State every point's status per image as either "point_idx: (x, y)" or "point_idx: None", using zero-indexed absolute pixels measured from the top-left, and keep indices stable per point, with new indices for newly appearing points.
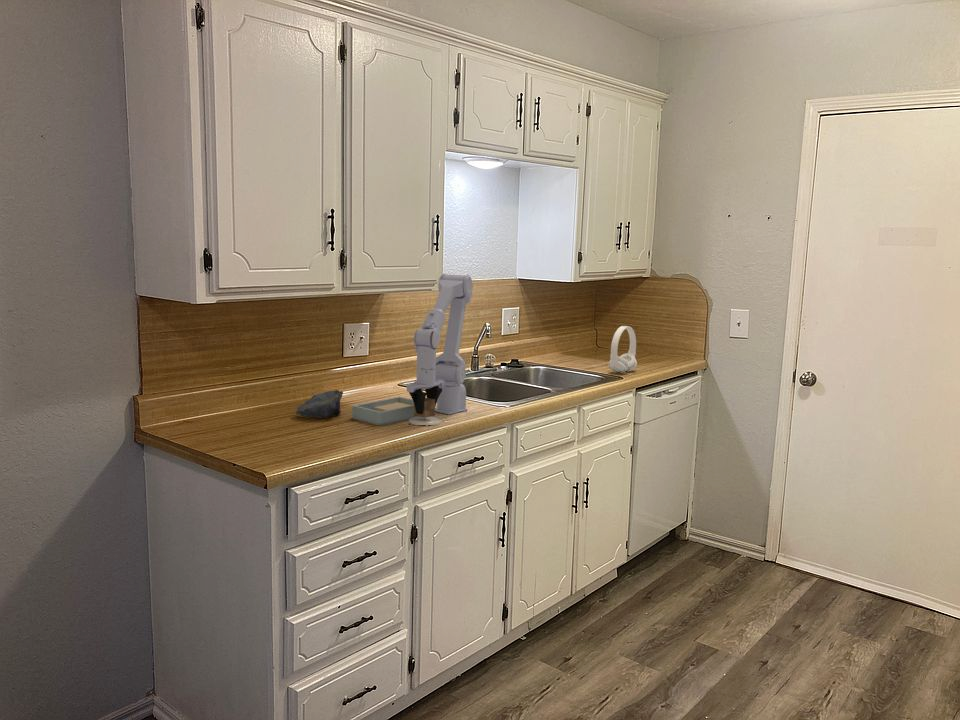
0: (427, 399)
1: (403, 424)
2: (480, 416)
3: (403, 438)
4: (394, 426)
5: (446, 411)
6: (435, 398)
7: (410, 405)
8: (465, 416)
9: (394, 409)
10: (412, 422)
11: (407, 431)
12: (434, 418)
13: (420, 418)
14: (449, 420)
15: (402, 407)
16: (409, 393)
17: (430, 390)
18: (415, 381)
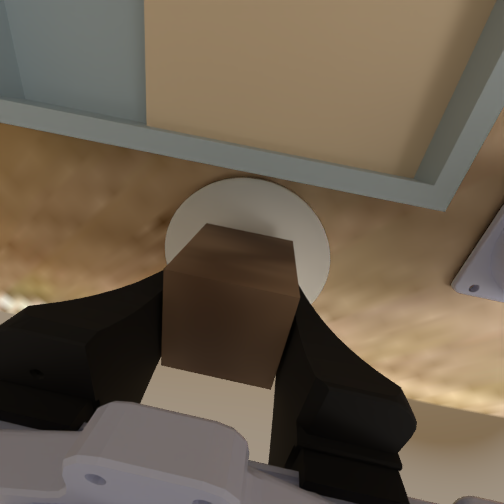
0: (233, 354)
1: (140, 199)
2: (471, 389)
3: (10, 306)
4: (81, 184)
5: (491, 267)
6: (275, 397)
7: (270, 152)
8: (447, 348)
9: (71, 130)
10: (165, 239)
11: (76, 275)
12: (300, 283)
13: (259, 229)
14: (337, 325)
15: (166, 141)
16: (31, 310)
17: (288, 428)
18: (66, 475)
